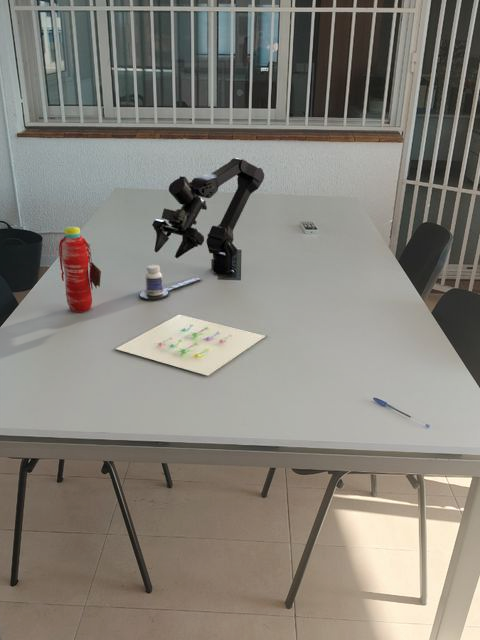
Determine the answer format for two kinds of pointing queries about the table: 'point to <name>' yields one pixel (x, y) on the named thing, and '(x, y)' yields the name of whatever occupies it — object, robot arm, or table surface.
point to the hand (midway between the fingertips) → (165, 254)
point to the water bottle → (77, 270)
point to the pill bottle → (154, 280)
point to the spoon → (167, 290)
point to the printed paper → (191, 344)
